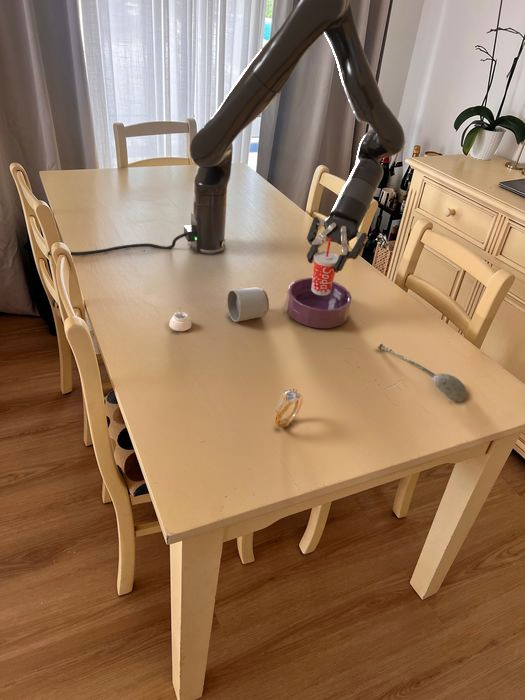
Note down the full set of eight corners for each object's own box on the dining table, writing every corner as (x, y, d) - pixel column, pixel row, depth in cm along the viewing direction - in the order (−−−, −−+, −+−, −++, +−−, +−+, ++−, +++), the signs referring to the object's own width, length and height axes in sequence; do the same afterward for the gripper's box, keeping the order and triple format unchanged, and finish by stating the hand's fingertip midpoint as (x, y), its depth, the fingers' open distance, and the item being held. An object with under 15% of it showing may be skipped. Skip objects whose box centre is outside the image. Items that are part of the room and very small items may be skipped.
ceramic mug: (269, 321, 123) (272, 293, 118) (238, 328, 119) (240, 299, 115) (249, 300, 130) (252, 272, 126) (220, 305, 127) (221, 277, 122)
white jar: (195, 326, 118) (180, 317, 121) (196, 315, 117) (180, 307, 119) (179, 335, 115) (164, 325, 118) (179, 324, 113) (164, 315, 116)
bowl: (302, 334, 120) (306, 314, 117) (275, 300, 131) (278, 281, 128) (358, 324, 126) (363, 305, 122) (328, 292, 137) (331, 274, 133)
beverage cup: (306, 294, 122) (315, 240, 114) (309, 282, 127) (318, 229, 119) (332, 299, 122) (343, 245, 114) (334, 286, 127) (344, 233, 118)
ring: (292, 411, 99) (297, 380, 94) (304, 420, 97) (310, 389, 93) (266, 428, 95) (271, 396, 90) (279, 438, 93) (284, 406, 88)
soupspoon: (455, 409, 105) (470, 397, 109) (462, 397, 103) (476, 385, 107) (370, 353, 116) (386, 344, 120) (374, 341, 114) (391, 332, 118)
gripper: (322, 186, 119) (291, 250, 118) (380, 203, 114) (347, 270, 113) (328, 202, 126) (299, 262, 125) (383, 219, 121) (352, 282, 120)
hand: (322, 266), depth 119 cm, fingers closed on beverage cup, 6 cm apart
